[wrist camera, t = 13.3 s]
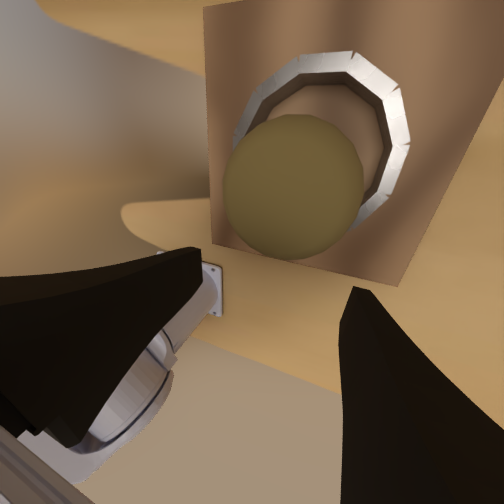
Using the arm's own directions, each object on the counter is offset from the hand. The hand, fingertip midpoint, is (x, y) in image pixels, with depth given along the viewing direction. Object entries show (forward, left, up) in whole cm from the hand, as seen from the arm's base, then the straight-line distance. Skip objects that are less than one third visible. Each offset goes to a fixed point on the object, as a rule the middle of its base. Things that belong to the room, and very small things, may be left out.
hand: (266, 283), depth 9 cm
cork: (0, +4, -10) cm, 11 cm away
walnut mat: (0, +5, -10) cm, 11 cm away
